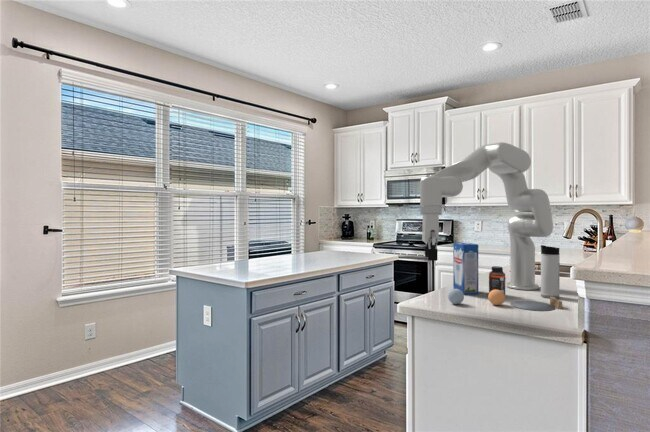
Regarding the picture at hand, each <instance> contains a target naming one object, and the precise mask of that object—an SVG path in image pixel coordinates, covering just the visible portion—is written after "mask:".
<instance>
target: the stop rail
mask: <svg viewBox="0 0 650 432" xmlns="http://www.w3.org/2000/svg"><path fill="white" fill-rule="evenodd" d="M549 304H551V305H553V306H555V309H558V310H562V309H563V301H562V300H560V299H559V298H557V299H556V298H554V297H550V298H549Z"/></svg>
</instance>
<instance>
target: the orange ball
mask: <svg viewBox="0 0 650 432" xmlns="http://www.w3.org/2000/svg"><path fill="white" fill-rule="evenodd" d="M505 300H506V294H505V295H504V293H503V292H502V291H500V290H492V291H491V292H490V293H489V292H488V301H489V303H490V304H492V305H494V306H501V305H502V304H504V302H505Z"/></svg>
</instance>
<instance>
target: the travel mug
mask: <svg viewBox="0 0 650 432" xmlns="http://www.w3.org/2000/svg"><path fill="white" fill-rule="evenodd" d="M560 261H561V259H560V247H556V246H555V247H554V246H549V245H547V246H546V245H544V244H543V245H542V244H541V245H540V297H542V298H544V299H550V297H554V298H556V299H559V298H560V274H561V273H560V267H561V266H560Z"/></svg>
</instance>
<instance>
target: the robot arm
mask: <svg viewBox="0 0 650 432" xmlns="http://www.w3.org/2000/svg"><path fill="white" fill-rule="evenodd" d="M531 164H532V158H531V157H530V155H529V153H528V152H527V151H525V150H523V149H522V148H519V147H517V146H515V145H513V144H511V143H507V142H502V141H500V142H495V143H488V144H484V145H481V146H479V147H477V148H476V149H475V150H473V151H472V152H471V153H469V154H468V155H467V156H465V158H463V159H461V160H460V161H456V162H455V163H453V164H451V165H449V166H447V167H444V168H442V169H440V170H438V171H437V172H436V173H434V174H433V175H431V176H430V175H429V176H423V177H421V178H420V180H419V181H420V183H419V184H420V185H419V187H420V190H419V191H420V193H419V195H420V196H419V198H420V202H419V205H420V207H419V208H420V210H419V211H420V212H419V214H420V216H422V229H421V230H422V231H421V241H422V242H424V243H425V245H424V257H425V258H427V261H431V262H432V261H438V243H439V235H440V234H439V233H440V231H439V230H440V229H439V227H440V225H439V224H440V221H439V220H440V218H439V217H440V216H441V215H443V214H442V213H443V198H452V197H457V196H459V195H460V194H461V193H462V191H463V188H464V186H463V183H464V182H468V181H471V180H474V179H476V178H478V176H480V175H481V174H482V173H484V171H486V170H487V169H489V171H490V172H492V173H493V174H495V175H496V176H498V177H499V178H500V179H501V181H502V183H503V187H504V191H505V198H506V202H507V206H508V209H509V210H510V211H511V212H515V213H517V214H513V215H511V217H509V219H508V220H507V228H508V229H507V230H508V233H509V243H510V245H509V247H510V248H509V249H510V254H509V255H510V256H509V257H510V259H509V260H510V261H509V262H510V263H509V264H510V266H509V269H510V279H509V280H510V281H509V282H506V284H505V287H506V288H507V287H508V288H510V289H514V290H525V291H534V290H538V289H540V285H538V284H536V245H535V244H534V241H533V240H532V238H547V237H549V236H551V235H552V233H553V229H554V221H553V216H552V215H553V214H552V210H551V209H552V208H551V203H550V202H551V201H550V199H549V196H548V194H547V193H546V191H545V190H543V189H541V188H528V185H527V179H526V176H525V175H524V172H526V171H528V170H529V169H530V167H531ZM531 237H532V238H531Z"/></svg>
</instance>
